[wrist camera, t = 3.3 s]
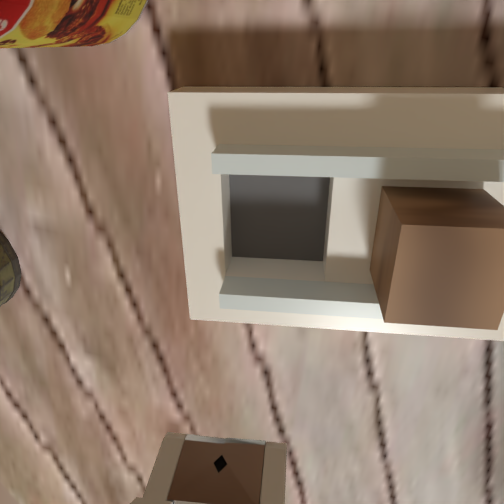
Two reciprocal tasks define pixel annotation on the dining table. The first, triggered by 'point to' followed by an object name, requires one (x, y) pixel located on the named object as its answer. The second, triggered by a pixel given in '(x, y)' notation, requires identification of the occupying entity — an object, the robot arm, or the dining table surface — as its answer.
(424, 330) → the channel
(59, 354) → the dining table surface
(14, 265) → the thermos
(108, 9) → the canned food
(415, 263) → the walnut block
